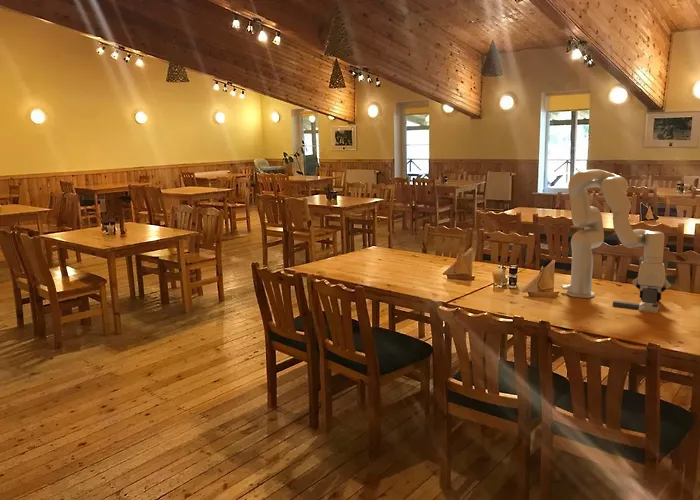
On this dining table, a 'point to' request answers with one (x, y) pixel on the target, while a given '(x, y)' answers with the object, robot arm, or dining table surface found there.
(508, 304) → the dining table surface
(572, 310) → the dining table surface
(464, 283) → the dining table surface
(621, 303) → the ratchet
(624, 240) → the robot arm
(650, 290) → the socket
